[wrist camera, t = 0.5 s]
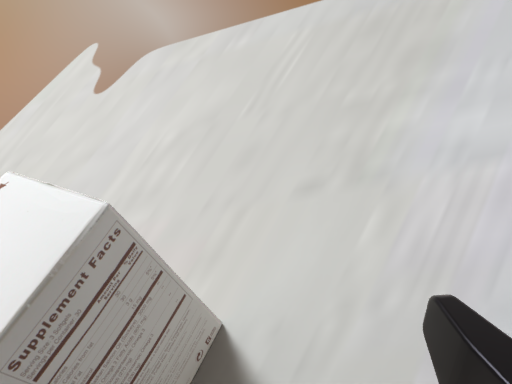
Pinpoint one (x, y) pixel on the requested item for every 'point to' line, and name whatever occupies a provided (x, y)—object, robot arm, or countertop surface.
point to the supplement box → (89, 295)
